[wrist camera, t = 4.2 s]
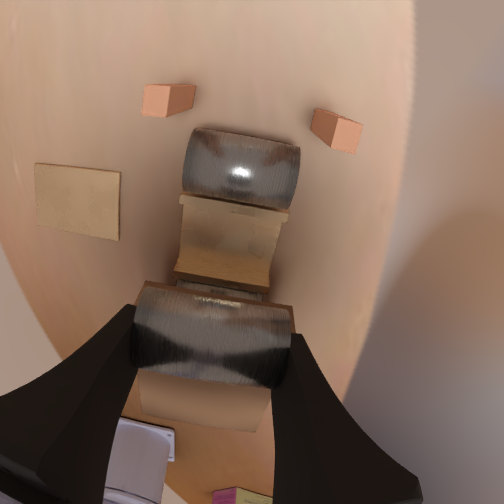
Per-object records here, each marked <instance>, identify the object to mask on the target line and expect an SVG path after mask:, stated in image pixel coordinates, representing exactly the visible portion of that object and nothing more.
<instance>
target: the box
mask: <svg viewBox="0 0 504 504" xmlns="http://www.w3.org/2000/svg"><path fill="white" fill-rule="evenodd" d="M272 501H273V498H271V497H267V496H263V495H260V494H256V493H253V492H250V491H247V490H244V489H241V488H239V487H233V488H227V489H222V490H217V491H214V492H213V501H212V504H272Z"/></svg>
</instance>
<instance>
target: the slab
mask: <svg viewBox="0 0 504 504" xmlns="http://www.w3.org/2000/svg"><path fill="white" fill-rule="evenodd" d="M148 286H149V287H154V288H159V289H165V290H170V291H176V292H181V293H187V294H192V295H198V296H204V297H210V298H216V299H222V300H228V301H234V302H241V303H247V304H254V305H260V306H267V307H274V308H281V309H287V310H288V312H289V315H290V320H291V333H296V332H295V324H294V316H293V308H292V306H289V305H282V304H276V303H269V302H263V301H256V300H250V299H244V298H238V297H232V296H226V295H221V294H215V293H209V292H204V291H198V290H193V289H187V288H182V287H176V286H171V285H166V284H161V283H156V282H151V281H145V283H144V285H143V287H142V289H141V291H140V293H139V295H138V297H137V299H136V302H135V304H134V305H135V306H137V305H138V302H139V299H140V297H141V294H142V292H143V291H144V289H145V288H146V287H148ZM137 375H138V384H139V392H140V400H141V407H142V414H146V415H150V416H155V417H159V418H164V419H169V420H174V421H179V422H184V423H190V424H196V425H202V426H208V427H215V428H222V429H229V430H238V431H247V432H256V430H257V428H258V426H259V423H260V421H261V419H262V417H263V414H264V412H265V410H266V408H267V405H268V403H269V401H270V399H271V390H270V389H260V388H251V387H242V386H234V385H227V384H220V383H213V382H206V381H200V380H194V379H188V378H183V377H177V376H172V375H167V374H162V373H157V372H152V371H147V370H143V369H138V372H137Z"/></svg>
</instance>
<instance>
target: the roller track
mask: <svg viewBox="0 0 504 504" xmlns="http://www.w3.org/2000/svg"><path fill="white" fill-rule="evenodd" d="M300 155H301V154H300V147H298V146H294V145H289V144H285V143H280V142H275V141H270V140H265V139H260V138H255V137H250V136H244V135H239V134H233V133H227V132H221V131H214V130H208V129H201V128H195V129H194V130H193V132H192V134H191V137H190V140H189V143H188V147H187V151H186V156H185V162H184V168H183V182H182V184H183V191H182V192H181V194H180V199H179V204H184V207H183V216H182V226H181V236H180V247H179V257H178V260H177V262H176V265H175V267H174V269H173V278H178V279H177V283H176V287H182V288H187V289H193V290H198V291H204V292H209V293H215V294H221V295H226V296H232V297H238V298H244V299H250V300H256V301H262V296H263V293H264V294H268V292H269V288H270V283H269V271H270V267H271V264H272V260H273V256H274V252H275V248H276V244H277V240H278V237H279V233H280V229H281V225H282V222H284V223H287V221H288V217H289V211H288V208H289V206H290V204H291V201H292V198H293V195H294V192H295V188H296V184H297V179H298V174H299V167H300ZM34 174H35V192H36V205H37V215H38V225H39V226H43V227H48V228H53V229H58V230H63V231H68V232H74V233H79V234H84V235H89V236H95V237H100V238H105V239H110V240H116V241H119V204H120V175H121V172H114V171H106V170H98V169H89V168H80V167H71V166H61V165H50V164H39V163H35V164H34Z"/></svg>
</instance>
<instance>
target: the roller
mask: <svg viewBox="0 0 504 504" xmlns="http://www.w3.org/2000/svg"><path fill="white" fill-rule="evenodd" d="M290 343H291V320H290V315H289V312H288V310H287V309H281V308H274V307H267V306H260V305H254V304H247V303H241V302H234V301H228V300H222V299H216V298H210V297H204V296H198V295H192V294H187V293H181V292H176V291H170V290H165V289H159V288H154V287H149V286H148V287H146V288H145V289H144V291H143V292H142V294H141V297H140V299H139V302H138V305H137V308H136V312H135V316H134V321H133V327H132V334H131V361H132V365H133V367H134V368H138V369H143V370H147V371H152V372H157V373H162V374H167V375H172V376H177V377H183V378H188V379H194V380H200V381H206V382H213V383H220V384H227V385H234V386H242V387H251V388H260V389H270V390H277V389H278V388H279V386H280V385H281V383H282V381H283V378H284V375H285V372H286V368H287V363H288V356H289V347H290Z"/></svg>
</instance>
